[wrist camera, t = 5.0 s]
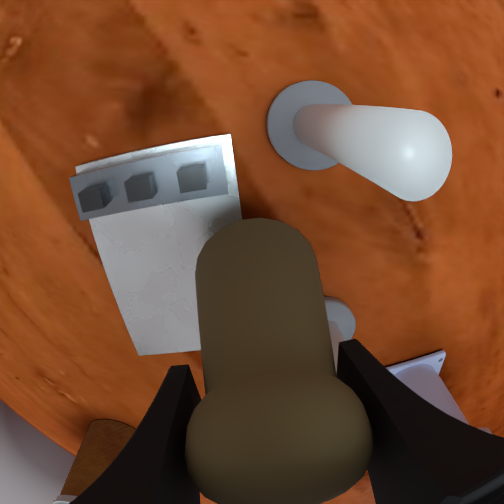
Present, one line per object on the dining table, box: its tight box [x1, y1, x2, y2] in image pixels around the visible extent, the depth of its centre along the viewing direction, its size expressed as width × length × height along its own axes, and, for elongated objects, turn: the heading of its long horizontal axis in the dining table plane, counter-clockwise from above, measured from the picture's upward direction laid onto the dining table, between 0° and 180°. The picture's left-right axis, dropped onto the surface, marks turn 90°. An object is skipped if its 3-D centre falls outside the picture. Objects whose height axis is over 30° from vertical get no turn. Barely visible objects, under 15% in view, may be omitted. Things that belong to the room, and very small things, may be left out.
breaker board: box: [69, 133, 242, 355], centre depth 18 cm, size 14×9×4 cm, turn 7°
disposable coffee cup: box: [53, 419, 136, 504], centre depth 23 cm, size 10×10×12 cm
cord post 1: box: [324, 296, 356, 372], centre depth 18 cm, size 5×5×11 cm
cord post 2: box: [266, 81, 452, 201], centre depth 12 cm, size 5×5×11 cm
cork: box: [184, 218, 374, 504], centre depth 11 cm, size 6×6×11 cm
